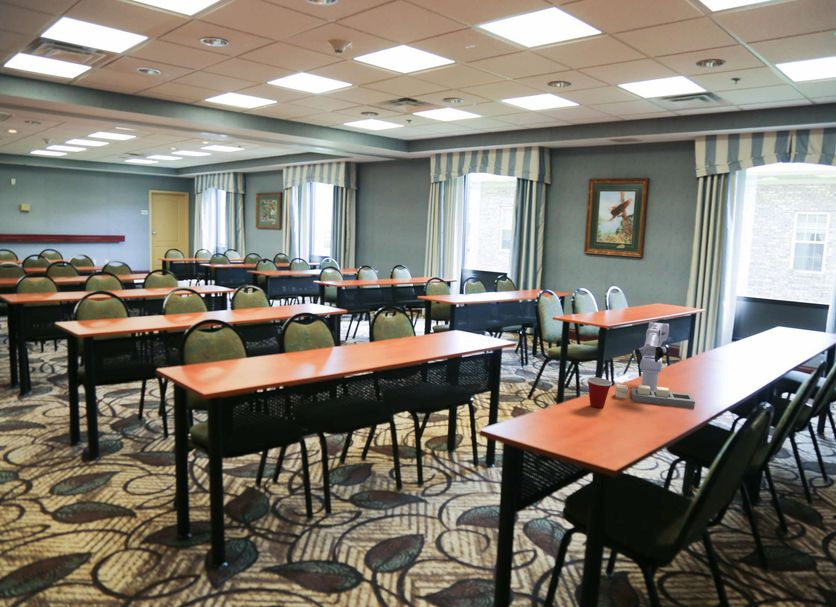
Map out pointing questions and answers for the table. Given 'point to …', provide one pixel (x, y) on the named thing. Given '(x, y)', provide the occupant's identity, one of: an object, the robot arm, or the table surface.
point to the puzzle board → (661, 396)
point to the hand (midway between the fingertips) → (647, 361)
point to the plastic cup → (598, 391)
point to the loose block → (621, 391)
